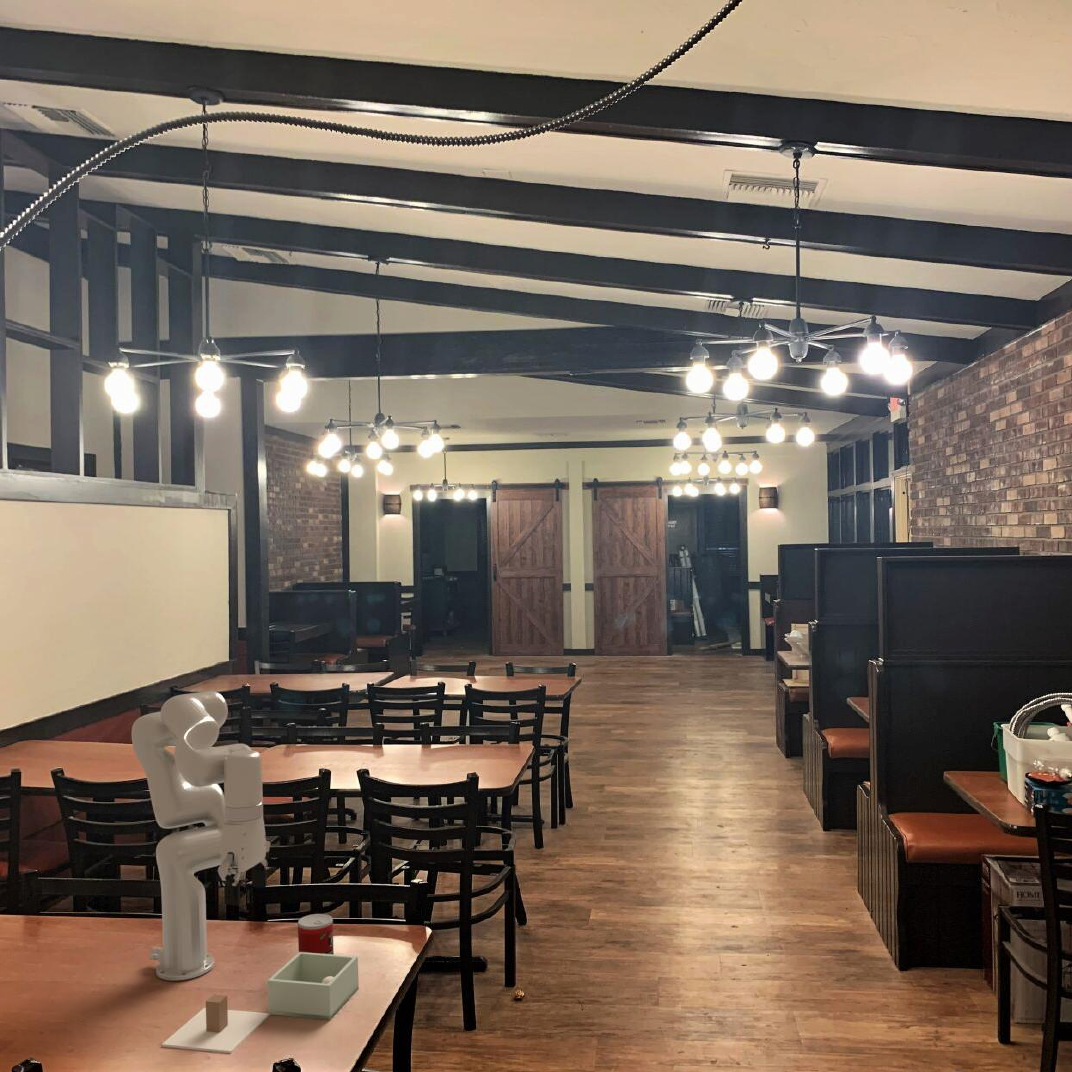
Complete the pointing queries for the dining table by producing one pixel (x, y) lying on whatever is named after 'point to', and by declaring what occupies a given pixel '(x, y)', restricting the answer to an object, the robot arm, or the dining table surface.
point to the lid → (216, 1028)
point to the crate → (313, 985)
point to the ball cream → (327, 979)
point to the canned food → (316, 934)
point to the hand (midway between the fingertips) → (246, 895)
